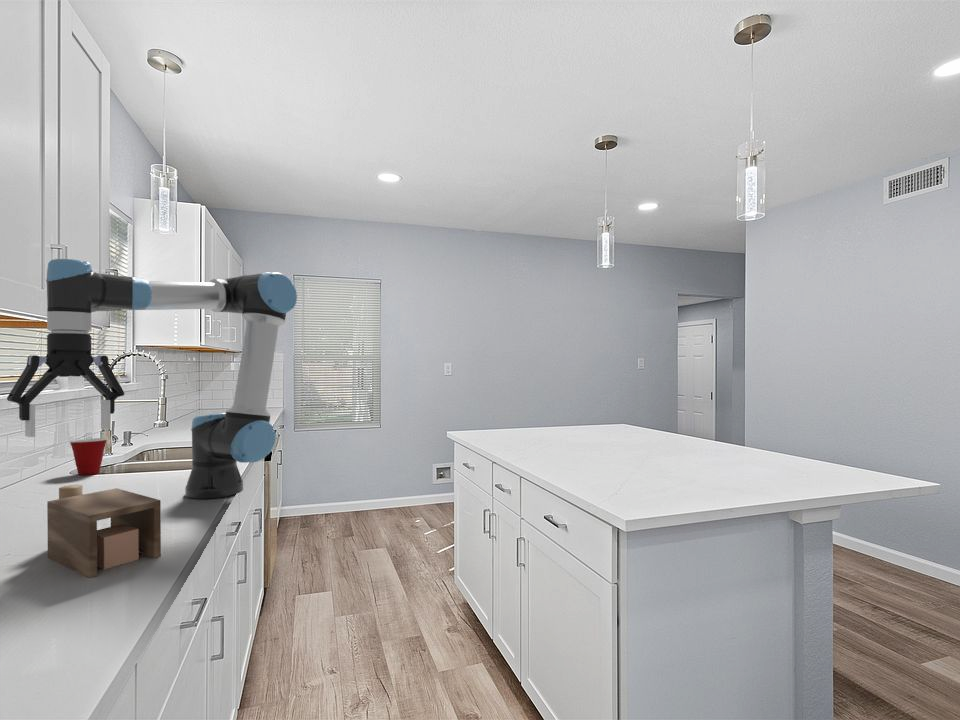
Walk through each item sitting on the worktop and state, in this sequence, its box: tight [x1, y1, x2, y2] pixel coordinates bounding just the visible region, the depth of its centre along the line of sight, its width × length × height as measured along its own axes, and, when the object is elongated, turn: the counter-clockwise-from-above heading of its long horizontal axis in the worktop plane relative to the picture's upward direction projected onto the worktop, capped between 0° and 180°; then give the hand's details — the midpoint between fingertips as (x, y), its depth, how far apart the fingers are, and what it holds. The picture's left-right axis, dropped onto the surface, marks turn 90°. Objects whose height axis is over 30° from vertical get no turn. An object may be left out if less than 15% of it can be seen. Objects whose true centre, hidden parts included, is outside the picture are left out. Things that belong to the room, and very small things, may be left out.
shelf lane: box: [46, 488, 162, 578], centre depth 107 cm, size 12×18×11 cm
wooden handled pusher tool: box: [58, 484, 140, 570], centre depth 109 cm, size 6×24×12 cm, turn 58°
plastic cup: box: [68, 437, 109, 476], centre depth 182 cm, size 11×11×12 cm
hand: (69, 432), depth 115 cm, fingers open, 13 cm apart
